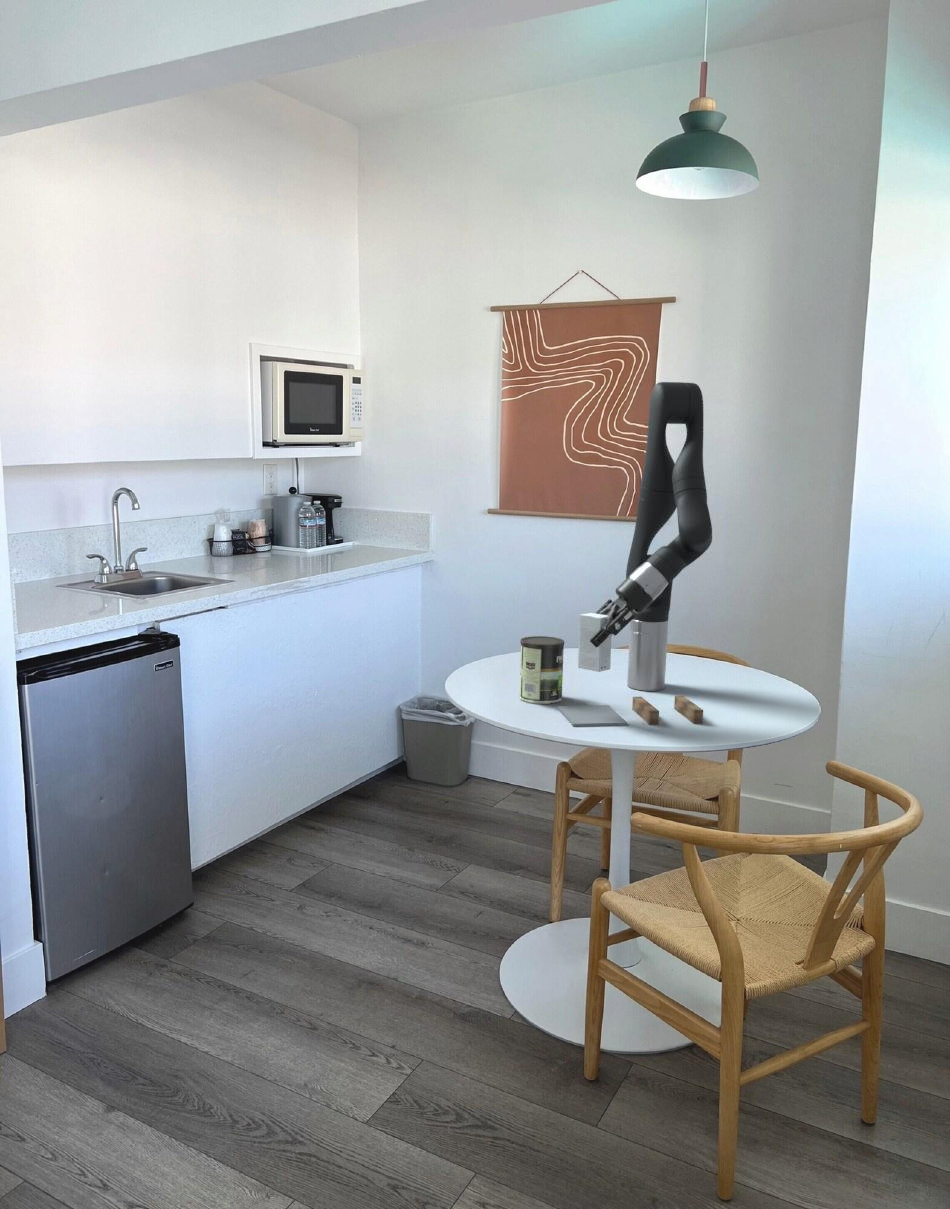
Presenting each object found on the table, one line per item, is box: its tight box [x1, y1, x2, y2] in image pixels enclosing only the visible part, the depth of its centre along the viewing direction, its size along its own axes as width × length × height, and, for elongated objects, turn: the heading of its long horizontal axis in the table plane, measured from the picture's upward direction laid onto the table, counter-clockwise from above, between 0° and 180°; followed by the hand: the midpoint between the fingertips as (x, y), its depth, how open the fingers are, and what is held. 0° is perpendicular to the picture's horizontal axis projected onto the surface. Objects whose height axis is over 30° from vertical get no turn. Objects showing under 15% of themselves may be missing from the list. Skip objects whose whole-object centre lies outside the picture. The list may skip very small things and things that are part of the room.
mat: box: [557, 704, 628, 728], centre depth 209 cm, size 14×12×1 cm
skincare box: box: [577, 612, 612, 673], centre depth 206 cm, size 6×4×12 cm
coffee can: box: [518, 635, 565, 705], centre depth 222 cm, size 10×10×14 cm
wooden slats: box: [631, 695, 704, 726], centre depth 210 cm, size 12×12×3 cm
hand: (588, 640), depth 206 cm, fingers closed on skincare box, 7 cm apart
